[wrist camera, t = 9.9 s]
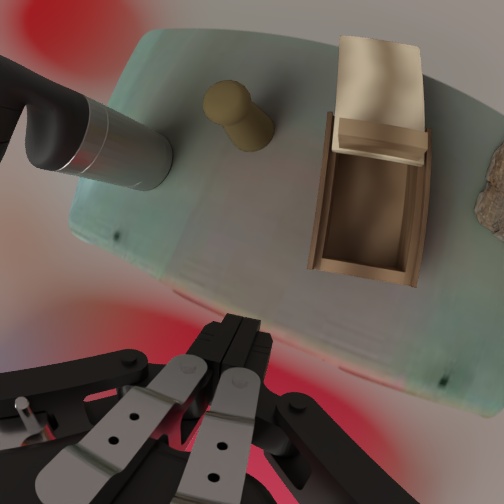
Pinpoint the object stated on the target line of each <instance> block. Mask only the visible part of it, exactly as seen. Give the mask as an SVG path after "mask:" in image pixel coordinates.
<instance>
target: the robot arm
mask: <svg viewBox="0 0 504 504" xmlns="http://www.w3.org/2000/svg"><path fill="white" fill-rule="evenodd" d="M25 105H26V106H27V128H26V138H25V148H26V154H27V157H28V159H29V161H30V162H31V164H32V165H34V166H35V167H37V168H40V169H44V170H49V171H55V172H60V173H64V174H69V175H74V176H79V177H83V178H88V179H92V180H97V181H101V182H106V183H110V184H114V185H119V186H123V187H127V188H131V189H135V190H140V191H146V190H150V189H153V188H155V187H156V186H158V185H159V184H160V183H161V182H162V181H163V180H164V179H165V177H166V176H167V174H168V172H169V170H170V167H171V163H172V156H173V155H172V148H171V145H170V143H169V141H168V140H167V139H166V138H165V137H164V136H163V135H161V134H159V133H157V132H155V131H153V130H152V129H150V128H148V127H146V126H144V125H142V124H141V123H139V122H137V121H135V120H133V119H131V118H129V117H127V116H125V115H123V114H121V113H119V112H117V111H115V110H113V109H111V108H109V107H107V106H105V105H103V104H101V103H99V102H97V101H95V100H93V99H91V98H89V97H87V96H85V95H82V94H80V93H78V92H76V91H74V90H71V89H69V88H66V87H64V86H62V85H60V84H57V83H55V82H53V81H51V80H49V79H47V78H45V77H43V76H41V75H38V74H37V73H35V72H33V71H31V70H29V69H27V68H25V67H24V66H22V65H20V64H18V63H16V62H14V61H12V60H10V59H8V58H6V57H3V56H1V55H0V162H1V160H2V158H3V156H4V154H5V152H6V149H7V147H8V144H9V142H10V139H11V136H12V134H13V131H14V129H15V127H16V124H17V122H18V120H19V117H20V115H21V113H22V111H23V109H24V106H25ZM260 324H261V320H257V319H252V318H247V317H242V316H238V315H233V314H229V313H227V314H226V316H225V317H224V319H223V321H222V322H221V323H219V322H215V321H213V322H211V323H209V324H207V325H205V326H204V328H203V329H202V331H201V333H200V334H199V335H198V337H197V339H195V341H194V342H193V344H192V345H191V347H190V348H189V350H188V351H187V353H186V354H185V355H179V356H176V357H174V358H173V359H172V360H171V361H170V362H169V363H168V364H166V365H163V364H151V363H148V359H147V357H146V355H145V354H144V353H142V352H140V351H138V350H134V349H125V350H120V351H116V352H111V353H106V354H102V355H97V356H93V357H88V358H83V359H78V360H73V361H68V362H63V363H58V364H52V365H47V366H41V367H36V368H30V369H24V370H18V371H11V372H5V373H0V504H277V503H276V501H275V500H274V498H273V497H272V495H271V494H270V492H269V491H268V490H267V489H266V487H265V486H264V485H263V484H262V483H260V482H259V481H258V480H257V479H255V478H254V477H252V476H250V475H249V474H247V473H246V469H247V463H248V458H249V452H250V446H251V444H253V445H255V446H257V447H259V448H261V449H263V450H264V455H265V457H266V459H267V460H268V462H269V463H270V464H271V466H272V467H273V469H274V470H275V472H276V473H277V474H278V476H279V477H280V478H281V480H282V481H283V483H284V484H285V485H286V487H287V488H288V489H289V491H290V492H291V493H292V495H293V496H294V497H295V499H296V500H297V501H298V503H299V504H420V503H418V502H417V501H416V500H415V499H414V498H413V497H412V496H411V495H409V494H408V493H407V492H406V491H405V490H404V489H403V488H402V487H401V486H400V485H399V484H398V483H397V482H396V481H394V480H393V479H392V478H391V477H390V476H389V475H388V474H387V473H386V472H385V471H384V470H383V469H382V468H381V467H380V466H379V465H378V464H377V463H376V462H374V460H373V459H371V458H370V457H369V456H368V455H367V454H366V453H365V452H364V451H363V450H362V449H361V448H360V447H359V446H358V445H357V444H356V443H355V442H354V441H353V440H352V439H351V438H350V437H349V436H348V435H347V434H346V433H345V432H344V431H343V430H342V429H341V427H340V426H339V425H338V424H337V423H336V422H335V421H333V419H332V418H331V417H330V416H329V415H328V414H327V413H326V412H325V411H324V410H323V409H322V408H321V407H320V406H319V405H318V404H317V402H316V401H315V400H314V399H313V398H311V397H310V396H308V395H306V394H303V393H298V392H290V393H286V394H283V395H282V396H278V395H277V394H274V393H273V392H271V391H270V390H269V389H267V387H266V386H265V385H264V379H265V375H266V371H267V367H268V363H269V358H270V353H271V348H272V343H273V340H272V337H271V335H270V333H265V332H260V331H259V330H260ZM115 388H116V391H117V395H113V396H110V397H105V398H101V399H98V400H93V401H90V402H84V401H83V400H84V398H85V397H86V396H88V395H90V394H95V393H99V392H103V391H107V390H110V389H115ZM208 405H210V406H211V407H210V410H209V411H206V410H207V408H208ZM200 425H201V426H200ZM199 427H200V428H199ZM198 428H199V431H198V434H197V437H196V440H195V442H194V445H193V448H192V451H191V452H186V451H185V450H186V448H187V447H188V445H189V443H190V442H191V440H192V438H193V437H194V435H195V433H196V432H197V430H198Z"/></svg>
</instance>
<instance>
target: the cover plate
mask: <svg viewBox="0 0 504 504" xmlns="http://www.w3.org/2000/svg"><path fill="white" fill-rule="evenodd" d="M427 150H428V133H427V132H425V119H424V92H423V77H422V66H421V56H420V48H419V47H416V46H412V45H406V44H402V43H395V42H390V41H384V40H378V39H371V38H363V37H353V36H343V35H340V44H339V65H338V82H337V97H336V109H335V121H334V132H333V142H332V152H336V153H343V154H350V155H357V156H364V157H370V158H376V159H382V160H388V161H393V162H399V163H404V164H409V165H414V166H419V167H422V166H423V165H424V153H425V152H426V151H427Z"/></svg>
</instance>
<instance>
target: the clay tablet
mask: <svg viewBox="0 0 504 504" xmlns="http://www.w3.org/2000/svg"><path fill="white" fill-rule="evenodd" d="M485 179H486V180H487V181H488V182H487V185H486V187H485V189H484V191H483V192H481V193H479V196H478V198H477V202H476V205H475V208H474V214H475V215H476V216H477V219H478V221H479V223H480V224H481V225H483V226H484V227H487V229H489V230H491V231H492V233H493V235H494V236H495V237H497V238H498V239H500V240H501V241H503V242H504V142H503V144H502V145H501V146H500V147H499V148H498V149H497V150H496V151H495V152H494V154H493V156H492V158H491V163H490V165H489V168H488V170H487V174H486V177H485Z"/></svg>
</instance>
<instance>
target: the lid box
mask: <svg viewBox="0 0 504 504" xmlns="http://www.w3.org/2000/svg"><path fill="white" fill-rule="evenodd" d="M334 121H335V116H333V113H332V112H327V122H326V132H325V142H324V151H323V159H322V168H321V176H320V184H319V191H318V199H317V206H316V213H315V220H314V227H313V233H312V240H311V246H310V253H309V259H308V265H307V269H310V270H312V269H316V270H322V271H327V272H333V273H339V274H344V275H350V276H356V277H362V278H367V279H373V280H379V281H385V282H391V283H396V284H402V285H408V286H411V287H414V288H416V287H417V282H418V277H419V272H420V266H421V260H422V254H423V247H424V240H425V233H426V225H427V216H428V205H429V194H430V179H431V153H432V129H431V128H427V129H426V130H425V132H427V133H428V150H427V151H426V152H425V153H424V165H423V166H422V167H419V166H414V165H409V164H404V163H399V162H393V161H388V160H382V159H376V158H370V157H364V156H357V155H350V154H343V153H336V152H332V142H333V132H334Z"/></svg>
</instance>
